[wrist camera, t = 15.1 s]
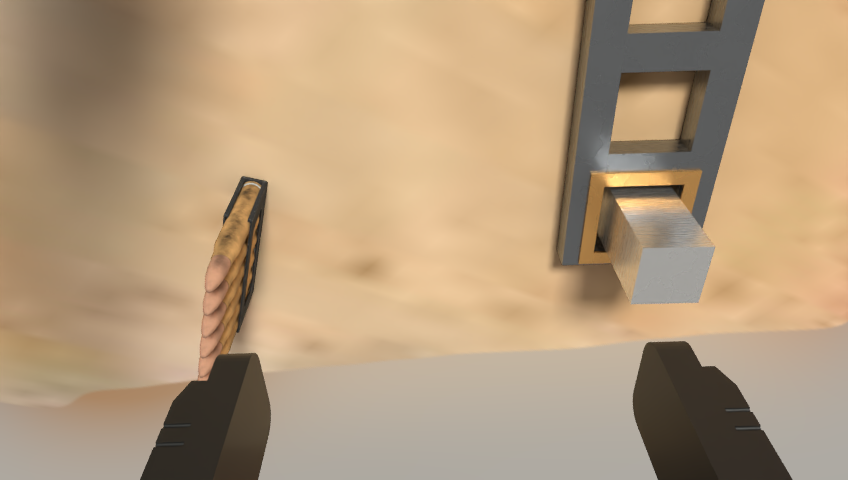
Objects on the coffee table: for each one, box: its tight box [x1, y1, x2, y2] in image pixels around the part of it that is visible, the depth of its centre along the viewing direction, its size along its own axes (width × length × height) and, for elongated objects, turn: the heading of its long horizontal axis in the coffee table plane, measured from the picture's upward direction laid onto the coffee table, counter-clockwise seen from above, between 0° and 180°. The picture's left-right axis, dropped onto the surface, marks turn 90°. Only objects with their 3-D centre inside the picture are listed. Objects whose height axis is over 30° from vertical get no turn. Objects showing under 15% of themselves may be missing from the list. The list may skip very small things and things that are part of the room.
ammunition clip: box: [198, 176, 268, 381], centre depth 42 cm, size 11×2×12 cm, turn 165°
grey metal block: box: [597, 185, 715, 304], centre depth 42 cm, size 4×4×9 cm
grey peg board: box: [557, 0, 765, 265], centre depth 40 cm, size 24×10×2 cm, turn 1°
